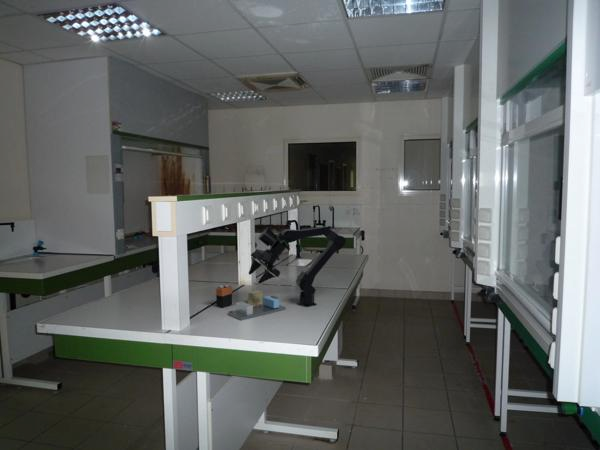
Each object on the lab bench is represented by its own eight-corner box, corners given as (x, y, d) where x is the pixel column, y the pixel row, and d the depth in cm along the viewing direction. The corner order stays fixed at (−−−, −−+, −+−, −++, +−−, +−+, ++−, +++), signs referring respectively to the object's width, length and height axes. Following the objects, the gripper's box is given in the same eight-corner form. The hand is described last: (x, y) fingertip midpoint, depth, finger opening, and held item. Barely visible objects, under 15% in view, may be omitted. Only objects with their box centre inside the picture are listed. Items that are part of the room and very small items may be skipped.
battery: (216, 306, 198) (215, 286, 198) (226, 303, 204) (225, 283, 203) (222, 308, 196) (222, 287, 195) (232, 304, 202) (232, 284, 201)
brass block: (258, 302, 206) (258, 290, 206) (262, 303, 204) (262, 291, 203) (248, 304, 202) (247, 292, 202) (252, 305, 200) (251, 293, 199)
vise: (271, 304, 201) (271, 294, 201) (285, 309, 193) (285, 298, 193) (228, 314, 186) (227, 303, 185) (241, 320, 178) (241, 308, 177)
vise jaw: (270, 302, 199) (270, 294, 199) (281, 306, 193) (281, 298, 192) (262, 304, 197) (262, 296, 196) (273, 308, 190) (273, 299, 189)
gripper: (254, 236, 196) (233, 262, 195) (275, 251, 182) (252, 280, 181) (268, 247, 204) (248, 272, 202) (289, 263, 190) (268, 290, 188)
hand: (253, 278), depth 193 cm, fingers open, 9 cm apart
